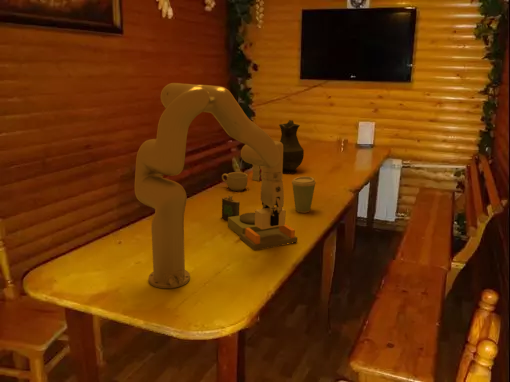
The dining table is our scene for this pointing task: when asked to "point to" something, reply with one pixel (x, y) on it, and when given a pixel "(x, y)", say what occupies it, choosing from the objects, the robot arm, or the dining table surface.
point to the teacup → (236, 180)
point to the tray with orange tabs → (260, 232)
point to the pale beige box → (267, 218)
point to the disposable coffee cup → (303, 193)
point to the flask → (229, 207)
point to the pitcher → (291, 147)
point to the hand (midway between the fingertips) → (270, 222)
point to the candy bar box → (257, 172)
